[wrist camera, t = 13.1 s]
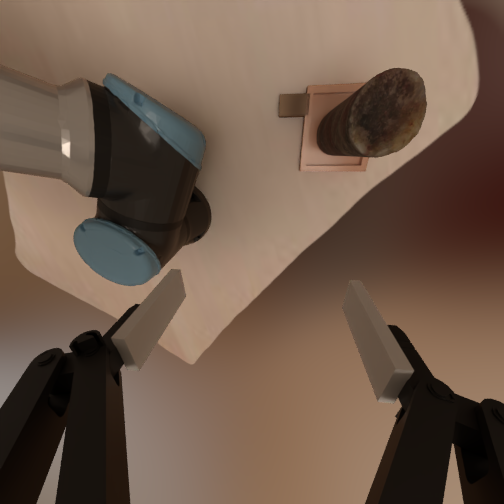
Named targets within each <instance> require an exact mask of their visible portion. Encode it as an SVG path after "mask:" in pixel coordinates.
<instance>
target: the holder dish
mask: <svg viewBox="0 0 504 504" xmlns="http://www.w3.org/2000/svg"><path fill="white" fill-rule="evenodd" d="M365 84H366V83H355V84H334V85H313V86H308V87H307V91H306V93H308V96H307V97H308V98H309V99H310V102H309V100H308V102H309V103H308V102H307V104H308V106H309V109H308V107H307V105H306V108H307V109H308V110H306V112H307V111H309V112H308V114H307V113H306V114H307V115H305V116H304V123H303V134H302V145H301V155H300V166H299V171H366V167H367V163H368V159H369V157H352V156H331V155H327V154H325V153H324V152H322V151H321V150H320V148H319V147H318V145H317V130H318V127H319V124H320V122H321V121H322V119H323V118H324V117H325V116H326V115H327V114H328V113H329V112H330V111H331V110H332V109H334V108H335V107H336V106H337V105H339V104H340V103H342V102H343V101H344V100H346V99H347V98H348V97H349V96H351V95H352V94H353V93H354V92H356V91H357V90H358V89H359V88H361V87H362V86H363V85H365ZM309 95H310V96H309Z"/></svg>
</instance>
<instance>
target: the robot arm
mask: <svg viewBox="0 0 504 504" xmlns="http://www.w3.org/2000/svg"><path fill="white" fill-rule="evenodd" d="M103 84H104V87H102V86H100V85H97V84H95V83H93V82H90V81H88V80H86V79H83V78H77V79H75V80H73V81H71V82H69V83H66V84H64V85H62V86H57V85H52V84H49V83H47V82H44V81H42V80H39V79H36V78H34V77H31V76H29V75H26V74H24V73H21V72H18V71H16V70H13V69H11V68H8V67H5V66H3V65H0V170H1V171H7V172H14V173H21V174H28V175H34V176H41V177H48V178H55V179H61V180H63V181H64V182H66V183H68V184H69V185H70V186H71V187H72V188H74V189H75V190H76V191H77V192H78V193H80V194H81V195H82V196H85V197H94V198H98V199H97V213H96V216H95V217H94V218H89V219H86V220H85V221H84V222H82V224H80V225H79V226H78V227H77V228H76V229H75V232H74V244H75V247H76V250H77V252H78V253H79V255H80V256H81V258H82V259H83V260H84V262H85V263H86V264H87V265H89V266H90V268H91V269H92V270H94V271H95V272H96V273H98V274H99V275H101V276H102V277H104V278H106V279H108V280H110V281H112V282H114V283H117V284H121V285H126V286H135V285H142V284H144V283H146V282H148V281H149V280H150V279H151V278H153V277H154V276H155V275H157V274H158V273H159V272H160V270H161V269H162V268H163V267H164V266H165V265H166V264H167V263H168V262H169V260H170V259H171V258H172V257H173V256H174V255H175V254H176V253H177V252H178V251H179V250H180V249H181V248H182V247H183V246H185V245H188V244H192V243H194V242H196V241H198V240H199V239H201V238H202V237H203V236H204V234H205V233H206V232H207V231H208V229H209V227H210V223H211V210H210V207H209V204H208V202H207V200H206V198H205V197H204V195H203V194H202V193H201V192H200V191H199V190H198V189H197V188H196V187H195V183H196V179H197V176H198V173H199V170H201V168H202V166H201V163H202V159H203V155H204V151H205V147H206V140H205V137H204V135H203V133H202V132H201V131H200V130H199V129H198V128H197V127H195V126H194V125H193V124H191V123H190V122H188V121H187V120H186V119H184V118H183V117H181V116H180V115H178V114H177V113H175V112H173V111H172V110H170V109H169V108H167V107H166V106H164V105H163V104H161V103H160V102H158V101H157V100H155V99H153V98H152V97H150V96H149V95H147V94H145V93H144V92H142V91H141V90H139V89H137V88H136V87H134V86H133V85H131V84H129V83H127V82H126V81H124V80H122V79H121V78H119V77H118V76H116V75H114V74H111V73H108V74H107V75H106V77H105V79H103ZM185 297H186V293H185V289H184V284H183V279H182V275H181V270H177V269H171V270H170V271H169V273H168V274H167V275H166V276H165V277H164V278H163V279H162V280H161V282H160V283H159V284H158V285H157V286H156V287H155V288H154V290H153V291H152V292H151V293H150V294H149V295H148V296H147V298H146V299H145V300H144V301H143V302H142V303H141V304H135V305H134V306H132V307H131V308H129V309H128V310H127V311H126V312H125V313H124V314H123V316H121V318H120V319H119V320H118V322H116V323H115V324H114V325H113V326H112V327H111V328H110V329H109V330H108V332H107V333H106V334H105V335H104V336H103V337H102V336H101V334H100V332H99V331H97V330H91V331H87V332H84V333H83V334H80V335H79V336H78V337H76V338H75V339H74V340H73V341H72V342H71V344H70V346H69V347H70V349H71V350H72V352H71V353H64V352H63V351H62V349H60V348H53V349H50V350H47V351H45V352H43V353H42V354H40V355H38V356H37V357H36V358H35V359H34V360H33V361H32V362H31V363H30V365H29V366H28V368H27V369H26V371H25V372H24V374H23V375H22V377H21V378H20V380H19V381H18V383H17V384H16V386H15V387H14V389H13V390H12V392H11V393H10V395H9V396H8V398H7V399H6V401H5V402H4V404H3V405H2V407H1V408H0V504H36V503H37V500H38V498H39V495H40V493H41V490H42V487H43V485H44V482H45V480H46V477H47V474H48V472H49V469H50V466H51V464H52V461H53V459H54V456H55V453H56V451H57V448H58V445H59V443H60V440H61V438H62V435H63V433H64V430H65V427H66V431H65V439H64V445H63V453H62V460H61V467H60V475H59V481H58V488H57V495H56V503H55V504H130V493H129V479H128V464H127V450H126V436H125V421H124V406H123V391H122V377H121V371H120V368H121V367H122V365H123V364H125V367H126V368H127V370H134V371H139V370H140V369H141V367H142V366H143V364H144V363H145V361H146V359H147V358H148V356H149V355H150V353H151V351H152V350H153V348H154V347H155V345H156V343H157V342H158V340H159V339H160V337H161V335H162V334H163V332H164V331H165V329H166V327H167V326H168V324H169V323H170V321H171V319H172V318H173V316H174V315H175V313H176V311H177V310H178V308H179V307H180V305H181V303H182V302H183V300H184V299H185ZM342 308H343V311H344V314H345V317H346V319H347V322H348V324H349V327H350V330H351V332H352V335H353V338H354V340H355V343H356V345H357V348H358V351H359V353H360V356H361V358H362V361H363V364H364V367H365V369H366V372H367V374H368V377H369V380H370V382H371V385H372V388H373V390H374V393H375V395H376V398H377V401H378V402H386V403H395V401H396V399H397V398H399V400H400V403H401V405H402V407H401V409H400V410H399V412H398V413H397V415H396V416H395V417H396V418H397V419H396V422H395V425H394V427H393V430H392V433H391V435H390V438H389V440H388V443H387V446H386V449H385V451H384V454H383V457H382V459H381V462H380V465H379V467H378V471H377V473H376V476H375V478H374V481H373V484H372V486H371V489H370V492H369V494H368V497H367V500H366V503H365V504H443V498H444V491H445V485H446V479H447V472H448V466H449V459H450V453H451V446H452V443H453V444H454V448H455V454H456V459H457V466H458V471H459V478H460V483H461V489H462V495H463V501H464V504H504V404H503V403H501V402H499V401H496V400H493V399H484V400H483V401H482V402H481V403H478V402H475V401H473V400H470V399H467V398H464V397H462V396H459V395H457V394H455V393H454V392H453V391H452V390H451V389H450V388H449V387H448V386H447V385H446V384H444V383H443V382H442V381H440V380H438V379H436V378H434V376H433V375H432V373H431V372H430V370H429V369H428V367H427V366H426V364H425V363H424V361H423V360H422V358H421V357H420V355H419V354H418V352H417V351H416V350H415V348H414V346H413V345H412V343H410V340H409V339H408V337H407V336H406V334H405V333H404V332H403V331H402V330H401V329H400V328H398V327H397V326H395V325H387V324H386V322H385V321H384V319H383V317H382V316H381V314H380V312H379V311H378V309H377V307H376V306H375V304H374V302H373V300H372V299H371V297H370V295H369V294H368V292H367V290H366V289H365V287H364V285H363V284H362V282H361V281H354V280H350V281H349V285H348V289H347V293H346V297H345V300H344V304H343V307H342Z"/></svg>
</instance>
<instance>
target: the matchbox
mask: <svg viewBox="0 0 504 504" xmlns="http://www.w3.org/2000/svg"><path fill="white" fill-rule="evenodd" d="M307 96H308V93H306V94H282V95H280V105H279V117H304V116H305V115H307V114H308V112H309V111H307V112H306V110H308V109H309V106H308V104H307V102H308V100H309V102H310V99H309V98H308V97H307ZM309 96H310V95H309ZM309 102H308V103H309ZM306 105H307V107H308V109H307V108H306ZM306 113H307V114H306Z"/></svg>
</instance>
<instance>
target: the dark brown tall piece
mask: <svg viewBox="0 0 504 504" xmlns="http://www.w3.org/2000/svg"><path fill="white" fill-rule="evenodd" d="M426 106H427V102H426V95H425V86H424V81H423V79H422V78H421V77H420V75H419V74H418V73H417V72H415V71H412V70H409V69H401V68H392V69H389V70H386V71H384V72H382V73H380V74H378V75H376V76H375V77H373V78H372V79H371V80H369V81H368V82H367V83H366V84H365V85H363V86H362V87H361V88H359V89H358V90H357V91H356V92H354V93H353V94H352V95H351V96H349V97H348V98H347V99H346V100H344V101H343V102H342V103H340V104H339V105H337V106H336V107H335V108H334V109H332V110H331V111H330V112H329V113H328V114H327V115H326V116H325V117H324V118H323V119H322V121H321V122H320V124H319V127H318V130H317V145H318V147H319V148H320V150H321V151H322V152H324V153H325V154H327V155H331V156H352V157H375V158H376V157H382V156H385V155H389V154H391V153H393V152H397V151H399V150H401V149H402V148H404V147H405V146H406V145H407V144H408V143H409V142H410V141H411V140H412V139H413V138H414V137H415V136H416V135H417V134H418V132H419V130H420V128H421V125H422V122H423V120H424V117H425V113H426Z"/></svg>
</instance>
